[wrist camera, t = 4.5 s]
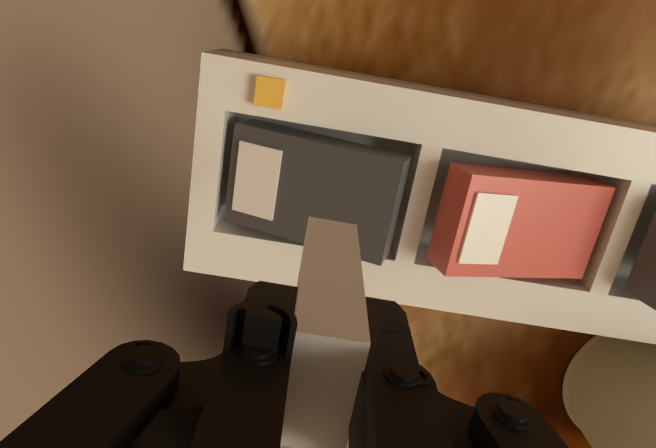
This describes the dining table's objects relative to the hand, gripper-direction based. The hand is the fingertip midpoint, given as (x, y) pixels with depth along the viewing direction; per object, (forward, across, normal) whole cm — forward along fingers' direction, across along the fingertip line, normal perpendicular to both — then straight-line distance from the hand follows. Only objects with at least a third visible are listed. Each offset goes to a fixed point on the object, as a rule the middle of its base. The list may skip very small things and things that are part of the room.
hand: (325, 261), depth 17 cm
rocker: (+8, -1, 0) cm, 8 cm away
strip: (+12, +13, 0) cm, 18 cm away
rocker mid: (+8, +9, 0) cm, 12 cm away
